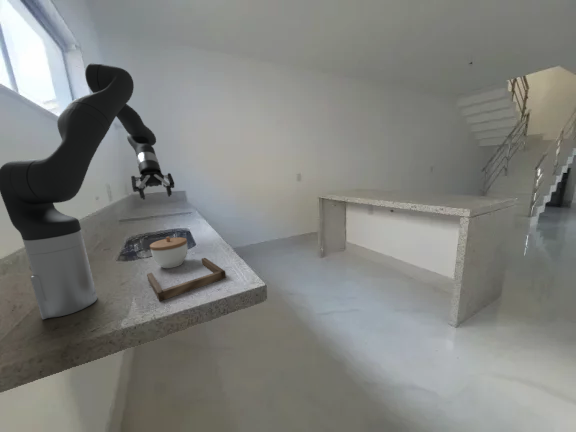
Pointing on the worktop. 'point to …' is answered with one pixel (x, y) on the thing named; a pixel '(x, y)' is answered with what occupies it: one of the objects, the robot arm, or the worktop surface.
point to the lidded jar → (169, 251)
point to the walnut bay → (187, 286)
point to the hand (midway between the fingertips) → (157, 196)
